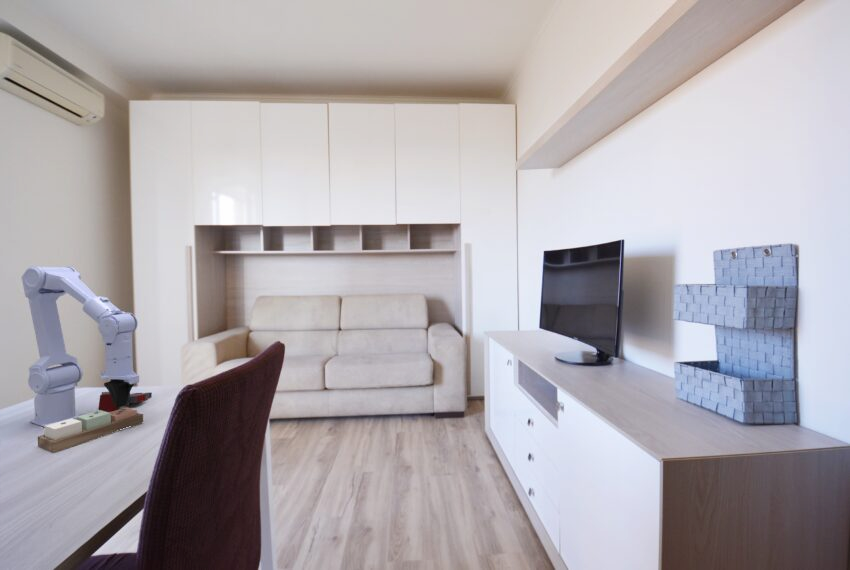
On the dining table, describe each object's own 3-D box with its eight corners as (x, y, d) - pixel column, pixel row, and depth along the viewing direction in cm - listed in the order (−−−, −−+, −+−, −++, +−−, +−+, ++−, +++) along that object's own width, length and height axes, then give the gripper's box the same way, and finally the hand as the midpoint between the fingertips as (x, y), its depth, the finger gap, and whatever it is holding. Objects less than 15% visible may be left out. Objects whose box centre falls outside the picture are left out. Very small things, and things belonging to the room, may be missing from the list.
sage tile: (76, 429, 93) (76, 416, 93) (100, 422, 98) (100, 409, 97) (87, 433, 91) (86, 419, 91) (111, 425, 95) (110, 412, 95)
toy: (129, 406, 121) (91, 414, 107) (131, 387, 122) (93, 392, 108) (156, 405, 122) (121, 413, 107) (158, 386, 123) (124, 392, 108)
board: (37, 446, 87) (37, 436, 87) (126, 418, 104) (126, 410, 104) (54, 452, 84) (53, 442, 84) (143, 422, 101) (142, 414, 101)
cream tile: (45, 439, 87) (44, 425, 87) (71, 431, 92) (71, 417, 92) (55, 443, 85) (54, 428, 85) (82, 434, 90) (81, 420, 90)
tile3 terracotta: (105, 425, 98) (104, 413, 98) (126, 419, 103) (126, 407, 103) (115, 428, 96) (115, 416, 96) (136, 421, 101) (136, 409, 101)
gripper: (87, 358, 98) (88, 407, 99) (116, 363, 93) (118, 415, 93) (117, 352, 105) (118, 398, 105) (147, 357, 99) (148, 406, 99)
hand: (120, 406), depth 100 cm, fingers closed
